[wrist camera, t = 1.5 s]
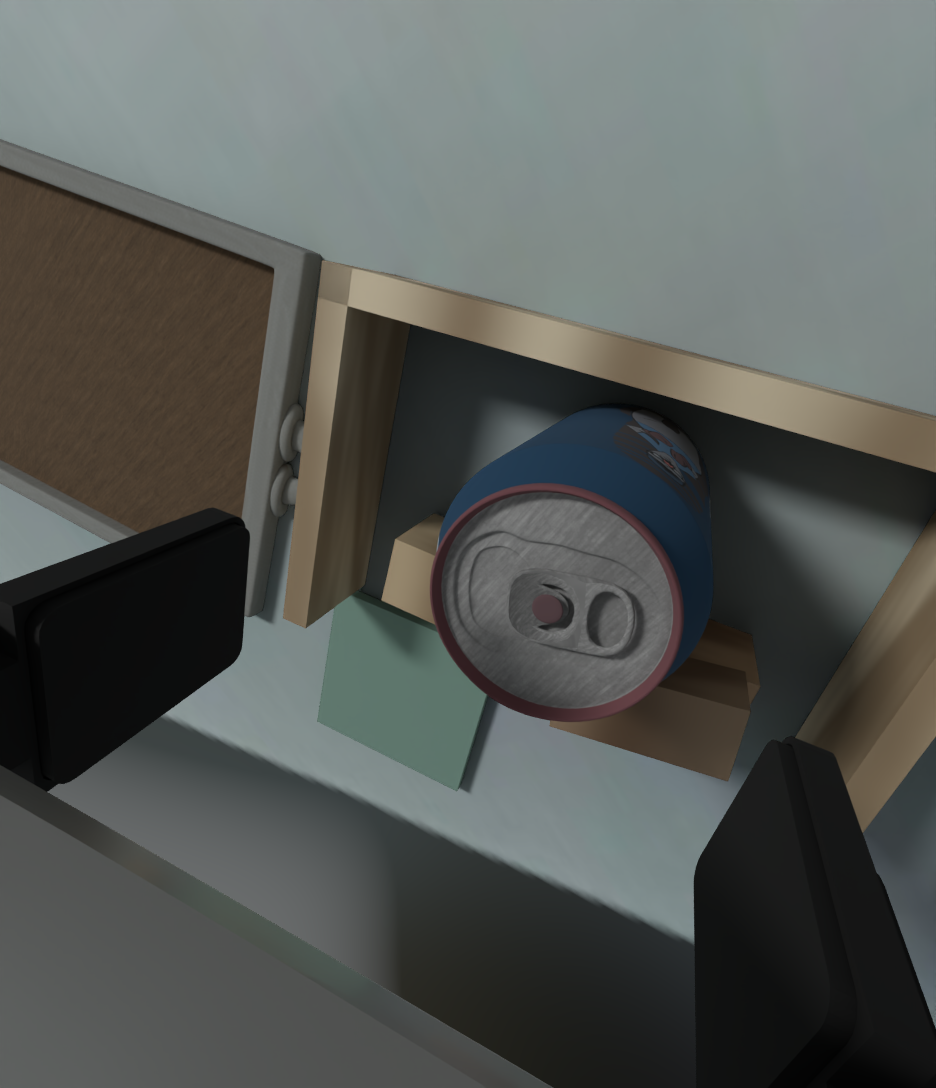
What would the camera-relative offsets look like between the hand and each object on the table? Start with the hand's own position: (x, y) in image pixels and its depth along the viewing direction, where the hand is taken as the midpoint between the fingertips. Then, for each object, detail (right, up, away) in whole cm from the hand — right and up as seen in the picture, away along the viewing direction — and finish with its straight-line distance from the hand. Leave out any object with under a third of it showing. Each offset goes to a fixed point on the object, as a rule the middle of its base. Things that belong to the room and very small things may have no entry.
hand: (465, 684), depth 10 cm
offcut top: (+7, -3, +11) cm, 14 cm away
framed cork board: (-20, +12, +22) cm, 32 cm away
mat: (-3, -5, +21) cm, 22 cm away
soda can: (+6, +5, +14) cm, 16 cm away
